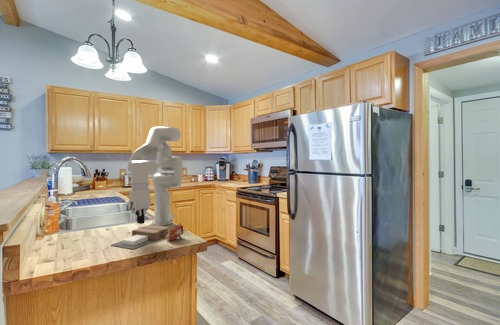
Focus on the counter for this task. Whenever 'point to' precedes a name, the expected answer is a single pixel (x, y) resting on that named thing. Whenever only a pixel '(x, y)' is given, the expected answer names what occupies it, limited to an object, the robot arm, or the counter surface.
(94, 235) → the counter surface
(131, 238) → the tile
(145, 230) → the block
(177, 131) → the robot arm
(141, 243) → the mat
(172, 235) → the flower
